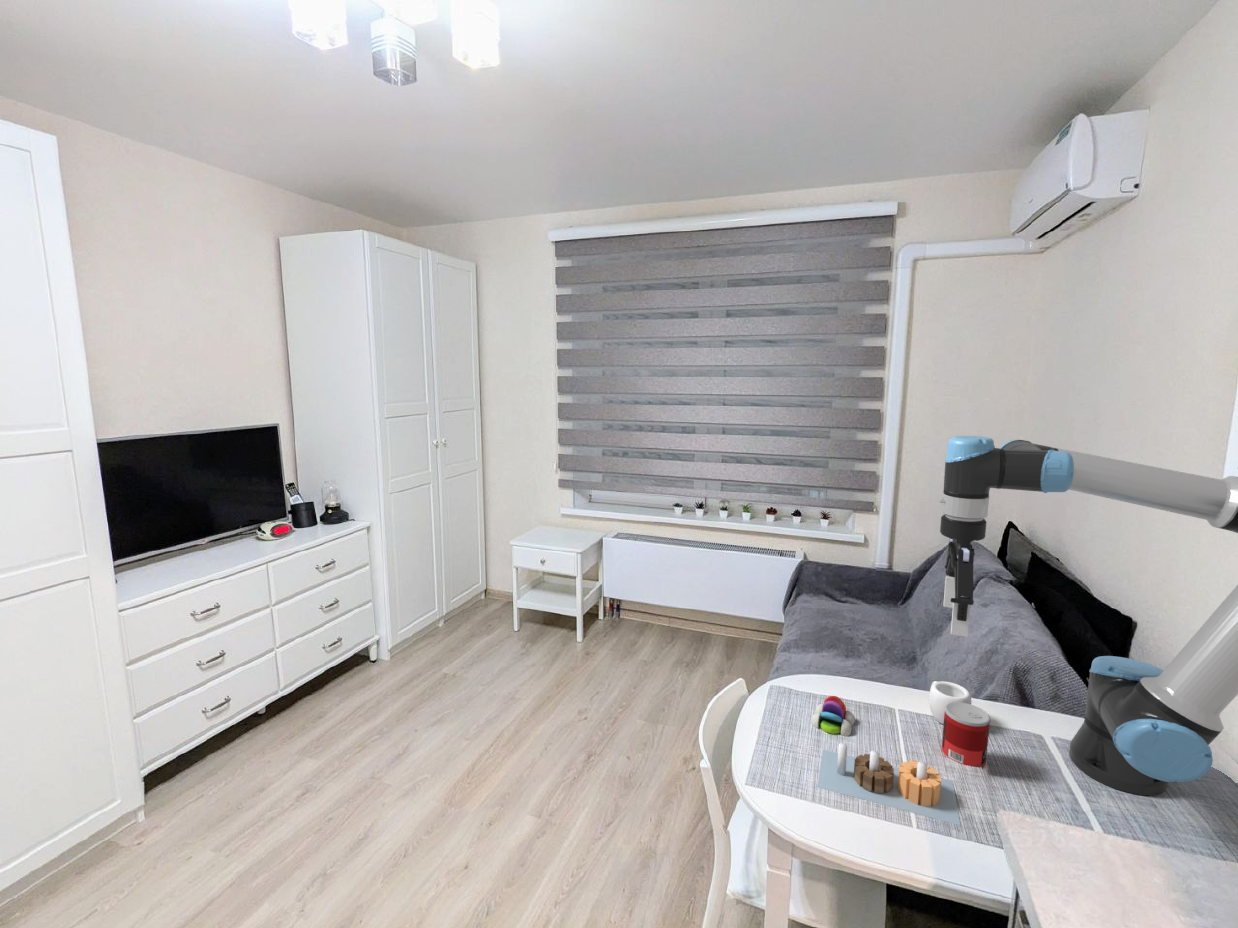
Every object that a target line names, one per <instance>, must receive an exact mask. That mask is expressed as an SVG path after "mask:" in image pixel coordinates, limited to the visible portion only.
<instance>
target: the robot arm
mask: <svg viewBox="0 0 1238 928" xmlns="http://www.w3.org/2000/svg"><path fill="white" fill-rule="evenodd" d="M994 443H995V442H994V440H993V438H991V437H987V436H976V435H957V436H956V435H955V436H953V437H952V438H950V439H949V440H948V442H947V446H946V455H945V459H944V460H945V461H944V474H943V475H944V477H943V491H942V492H943V497H941V498H939V499H938V501H939V503H941V504H942V506H941V512H942V516H941V517H940V526H939V527H940V528H939V532H940V534H941V535H942V536H943V537H946V538H949V541H948V545H947V555H946V560H945V565H944V568H945V580H944V581H945V582H944V593H943V594H944V596H943V604H942V605H943V607H944V608H950V609H952V612H951V613H952V614H951V626H950V634H951V635H953V636H959V637H965V638H968V637H969V626H970V616H971V608H972V607H971V606H973V605H974V603H975V601H974V559H975V555H976V553H975V548H973V545H972V544H971V543H972V542H975V541H977V542H978V541H982V540H984V539H985V538H986V532H987V530H986V529H987V521H986V518H988V513H989V503H990V502H989V501H990V490H991V489H997V490H1001V489H1002V490H1011V491H1013V490H1014V491H1015V490H1016V491H1027V492H1041V493H1044V494H1048V493H1066V492H1067V491H1068V490H1069V491H1074V492H1077V493H1082V494H1083V493H1084V494H1086V495H1093V496H1097V497H1100V498H1106V499H1111V500H1115V501H1120V502H1125V503H1129V504H1132V505H1133V504H1134V505H1138V506H1140V507H1141V506H1142V507H1147V508H1150V509H1151V508H1152V509H1155V510H1160V511H1164V512H1165V511H1166V512H1170V513H1174V514H1179V515H1184V516H1188V517H1192V518H1195V519H1201V520H1206V521H1207V522H1208V524H1209V525H1210V526H1211V527H1213V528H1215V529H1216V528H1217V529H1222V530H1225V531H1230V532H1233V533H1236V534H1238V476H1235V475H1228V476H1226V477H1223V478H1222V479H1220V478H1214V477H1209V476H1204V475H1199V474H1194V473H1188V472H1183V471H1180V470H1172V469H1168V468H1162V467H1157V466H1153V465H1147V464H1146V465H1145V464H1142V463H1137V462H1136V463H1135V462H1131V461H1126V460H1120V459H1115V458H1110V457H1105V456H1100V455H1094V454H1090V453H1085V452H1079V451H1073V450H1070V449H1063V448H1059V447H1057V448H1056V447H1051V446H1049V445H1042V444H1038V443H1032V442H1031V441H1030V440H1025V439H1013V440H1009V441H1006V442H1005V443H1003V444H1001V446H999V448H998V447H995V444H994ZM1237 696H1238V584H1237V585H1236V586H1235V587H1234V588H1233V589H1232V590H1231V592H1230V593H1229V594H1227V596H1226V598H1224V600H1223V601H1222V602H1221V603H1220V604H1219V605H1218V607H1216V610H1214V612H1213V613H1211V615H1210V616H1209V617H1208V619H1207V620H1205V622H1204V623H1203V624H1202V626H1201V627H1200V628H1199V629H1198V630H1197V631H1196V632H1195V633H1194V634H1193V635H1192V637H1191V638H1190V639H1189V640H1188V641H1187V642H1186V644H1185V645H1184V647H1182V648H1181V649H1180V651H1178V653H1177V654H1176V655H1175V657H1173V658H1172V660H1171V662H1169V664H1168V665H1167V666H1166V667H1165V669H1162V668H1160V667H1158V666H1156V665H1153V664H1151V663H1147V662H1144V661H1141V660H1138V659H1137V660H1136V659H1131V658H1128V657H1123V656H1116V655H1115V656H1113V655H1103V656H1102V655H1101V656H1097V657H1095V658H1094V659H1093V660H1092V662H1091V667H1090V669H1089V680H1088V686H1087V695H1086V703H1085V709H1084V710H1085V711H1084V720H1083V722H1082V724H1081V726H1080V727H1079V729H1078V731H1077V732H1076V734H1074V735H1073V738H1072V739H1071V741H1070V744H1069V750H1068V755H1069V758H1070V760H1071V761H1072V763H1073V764H1074V765H1075V766H1076V767H1077V768H1078V769H1079V770H1081V772H1083V773H1084V774H1086V775H1087V776H1089V777H1090V778H1092V779H1094V780H1096V781H1097V782H1099V783H1101V784H1103V785H1106V786H1108V787H1111V788H1113V789H1115V790H1119V791H1122V792H1124V793H1125V792H1126V793H1131V794H1133V795H1141V796H1157V795H1160V794H1163V793H1164V792H1165V791H1166V790H1167V788H1168V783H1171V782H1172V783H1173V782H1174V783H1175V782H1178V783H1188V782H1191V781H1192V782H1193V781H1195V780H1198V779H1200V778H1203V776H1205V775H1206V774H1207V773H1208V772H1209V771H1210V770H1211V768H1212V766H1213V762H1214V761H1213V751H1212V750H1211V747H1210V744H1211V743H1212V742H1213V741H1214V740H1215V739H1216V738H1217V737H1218V736H1219V735H1220V734H1221V733H1222V732H1223V730H1224V725H1223V722H1222V720H1221V717H1220V715H1221V713H1222V712H1223V711H1224V710H1225V709H1226V708H1227V707H1228V706H1229V704H1231V702H1232V701H1233V700H1234V699H1235V698H1236V697H1237Z"/></svg>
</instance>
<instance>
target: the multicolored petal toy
mask: <svg viewBox="0 0 1238 928" xmlns="http://www.w3.org/2000/svg"><path fill="white" fill-rule="evenodd" d="M855 722H856V717H855V715H854V714H853V712H852V711H850V710H847V707H846V705H845V703H844V701H843V699H841V698H840V697H838V696H836V695H830V696H828V697H826V698H825V699H824V701H823V703H820V704H817V705H816V708H815V713H814V714H813V715H812V716H811V719H810V724H811V726H812V727H814V728H815V729H819V728H820V729H821V730H823V731H824V732H825V733H827V734H832V735H838V734H840V736H842V737H848V736H850V735H851V733H852V727H853V726H854V725H855Z"/></svg>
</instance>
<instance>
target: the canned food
mask: <svg viewBox="0 0 1238 928" xmlns="http://www.w3.org/2000/svg"><path fill="white" fill-rule="evenodd" d="M942 725H943V724H942ZM990 726H991V718H990V714H988V713H987V711H985V710H984V709H982V708H980V707H978V706H975V705H974V704H972V703H971V704H967V703H962V702H952V703H948V704H947V705H946V707H945V714H944V725H943V728H942V739H941V740H942V741H941V751H942V752H943V754H944V755H945V756H946V757H947V758H948V759H950V760H952V761H953V762H956V763H958V764H960V765H963V766H968V767H980V766H981V770H983V769H984V768H985V766H986V764H987V754H988V744H989V736H990V728H991V727H990Z"/></svg>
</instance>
